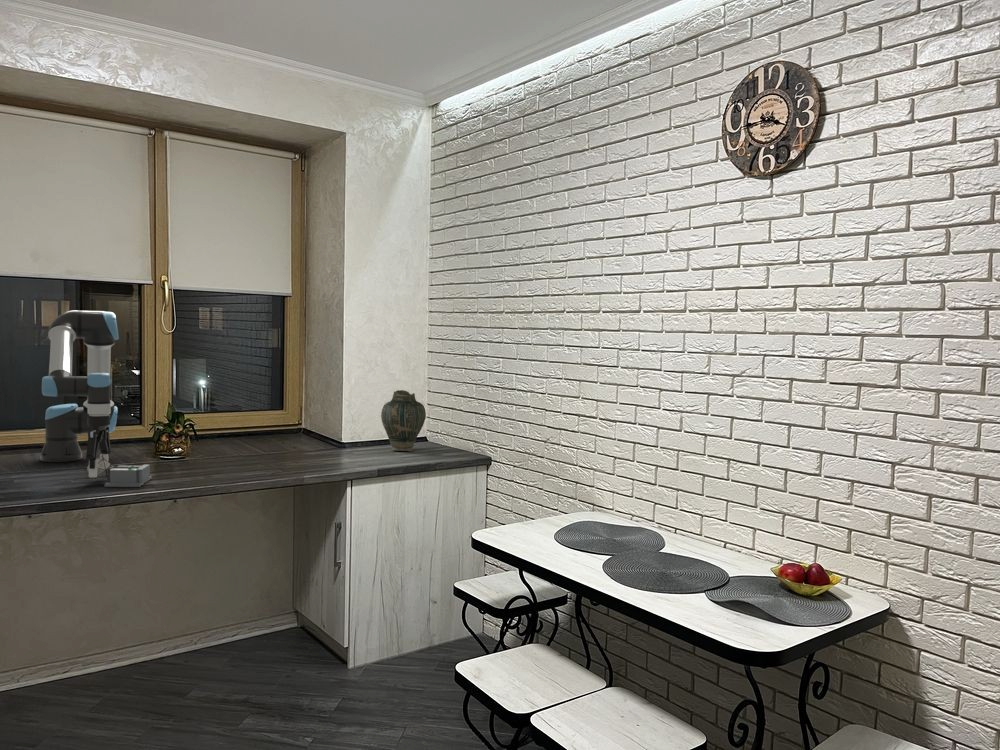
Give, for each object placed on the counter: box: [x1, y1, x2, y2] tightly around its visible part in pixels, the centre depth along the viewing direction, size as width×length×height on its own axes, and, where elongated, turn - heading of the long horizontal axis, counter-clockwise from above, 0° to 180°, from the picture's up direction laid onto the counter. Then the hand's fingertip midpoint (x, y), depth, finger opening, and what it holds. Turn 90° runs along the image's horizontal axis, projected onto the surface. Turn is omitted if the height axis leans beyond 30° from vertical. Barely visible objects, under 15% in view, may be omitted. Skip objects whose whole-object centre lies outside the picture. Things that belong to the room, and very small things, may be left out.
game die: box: [83, 455, 114, 480], centre depth 268 cm, size 9×8×10 cm
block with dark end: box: [107, 465, 135, 481], centre depth 269 cm, size 7×9×5 cm
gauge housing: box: [104, 464, 153, 488], centre depth 270 cm, size 14×12×6 cm
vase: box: [380, 389, 427, 452], centre depth 361 cm, size 22×22×30 cm
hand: (98, 474), depth 268 cm, fingers closed on game die, 10 cm apart
